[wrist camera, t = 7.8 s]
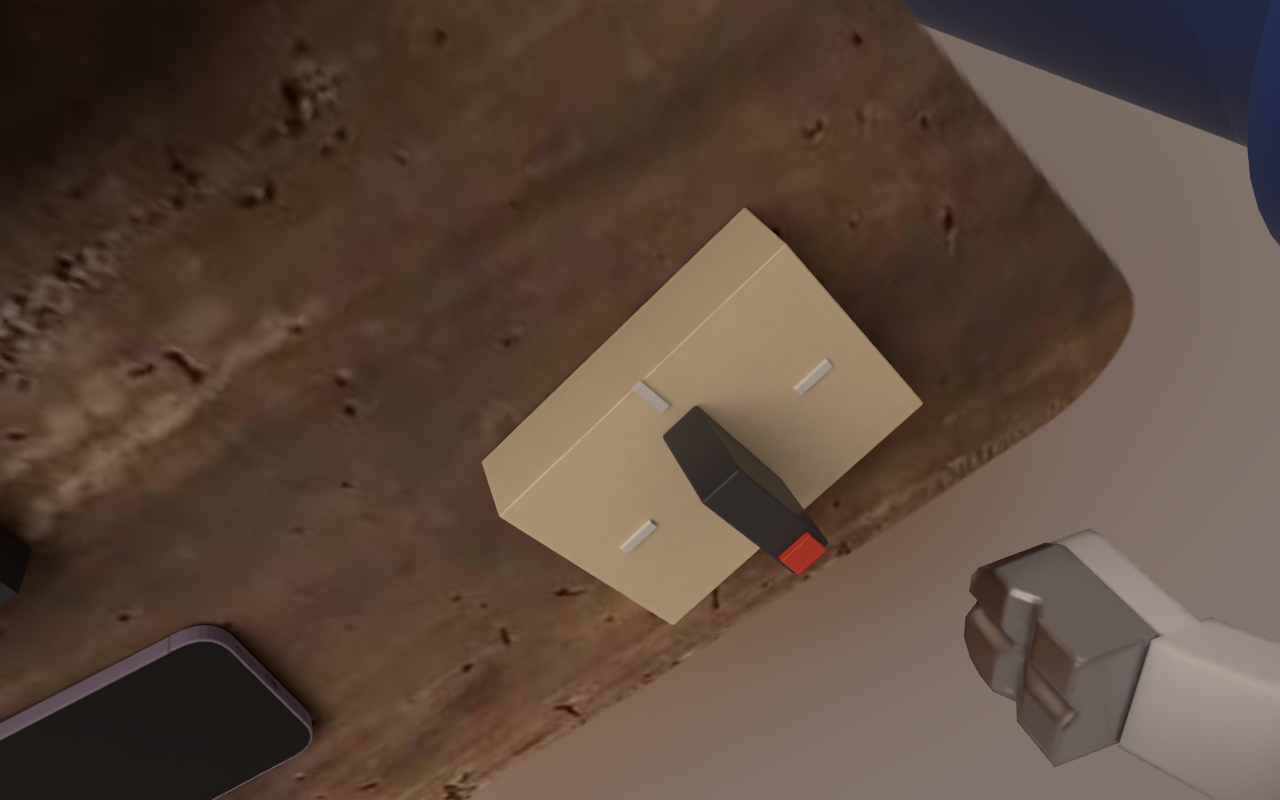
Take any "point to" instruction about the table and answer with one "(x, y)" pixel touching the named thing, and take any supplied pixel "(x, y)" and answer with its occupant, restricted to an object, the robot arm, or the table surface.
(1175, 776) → the robot arm
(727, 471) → the black red-tipped block
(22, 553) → the picture frame
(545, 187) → the table surface
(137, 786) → the smartphone
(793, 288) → the plate
